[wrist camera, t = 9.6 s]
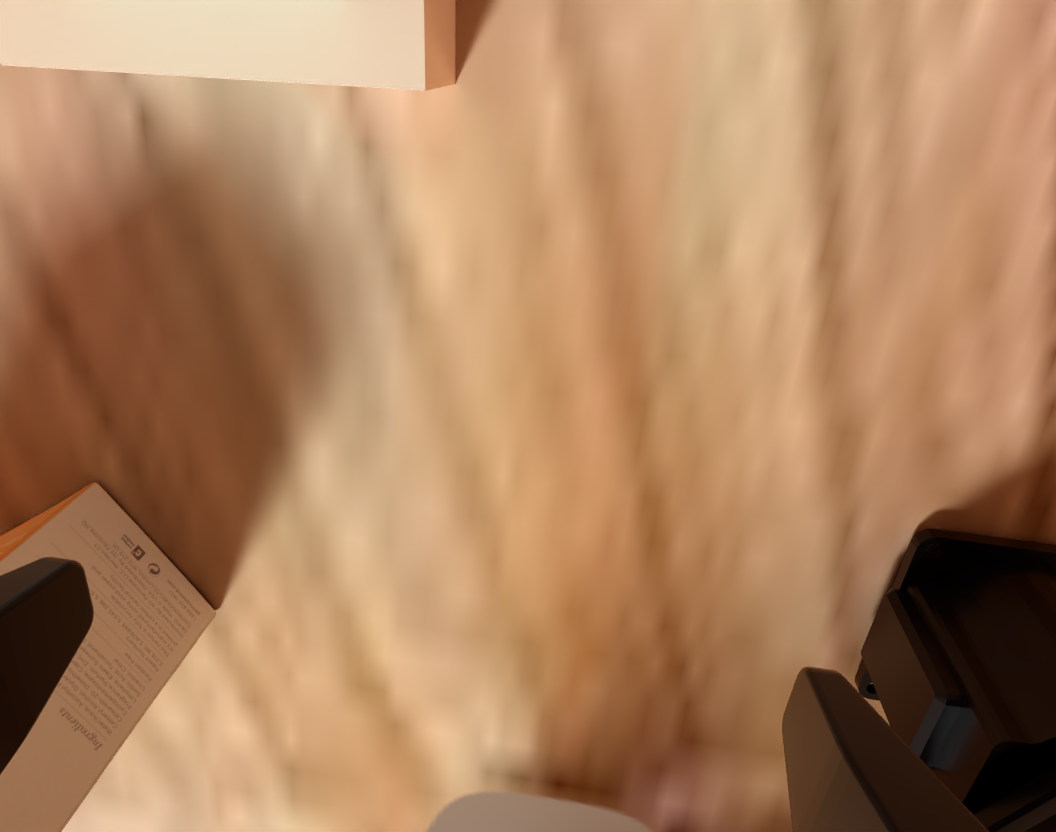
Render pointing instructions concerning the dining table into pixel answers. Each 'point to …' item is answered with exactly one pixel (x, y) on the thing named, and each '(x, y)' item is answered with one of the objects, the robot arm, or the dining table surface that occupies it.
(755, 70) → the dining table surface
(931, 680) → the robot arm
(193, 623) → the small box
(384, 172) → the dining table surface
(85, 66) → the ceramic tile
